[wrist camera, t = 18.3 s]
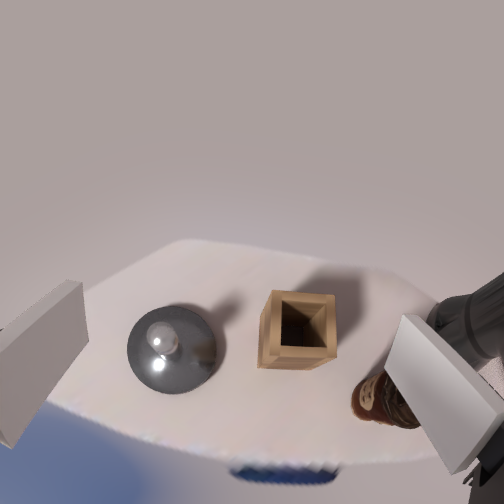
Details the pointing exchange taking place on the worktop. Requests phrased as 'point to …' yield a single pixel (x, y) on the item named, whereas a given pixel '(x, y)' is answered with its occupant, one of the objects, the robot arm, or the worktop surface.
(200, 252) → the worktop surface
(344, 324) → the worktop surface
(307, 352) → the sleeve
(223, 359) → the worktop surface
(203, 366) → the post stand
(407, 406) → the coffee cup
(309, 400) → the worktop surface
